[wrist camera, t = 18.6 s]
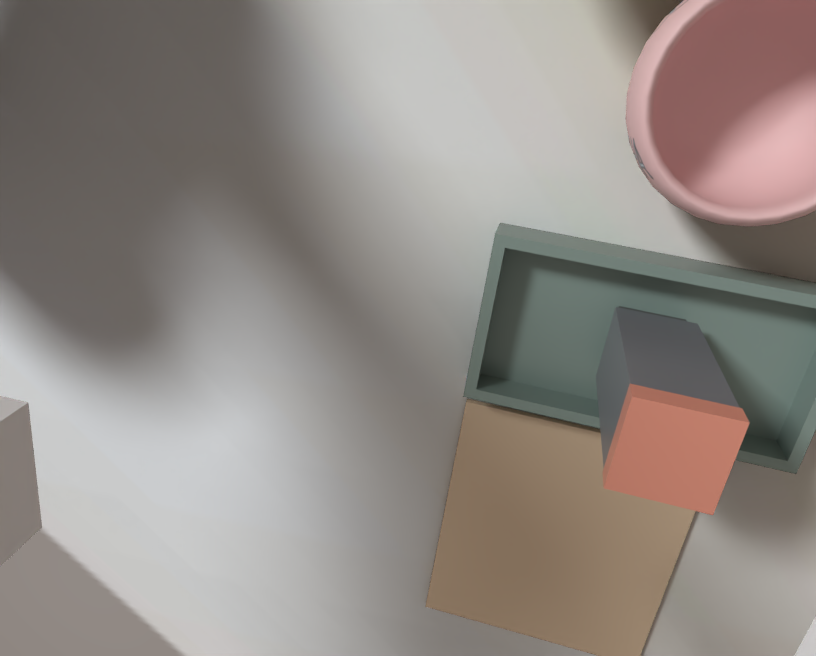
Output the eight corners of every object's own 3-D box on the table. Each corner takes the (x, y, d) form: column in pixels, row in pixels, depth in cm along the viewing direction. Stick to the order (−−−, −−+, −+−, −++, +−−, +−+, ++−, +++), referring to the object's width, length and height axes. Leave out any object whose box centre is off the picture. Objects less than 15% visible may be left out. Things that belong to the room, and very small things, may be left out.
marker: (594, 368, 36) (603, 488, 26) (613, 298, 34) (632, 396, 24) (671, 385, 35) (712, 515, 25) (694, 314, 34) (749, 422, 24)
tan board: (426, 602, 45) (425, 606, 45) (467, 398, 39) (466, 401, 39) (635, 661, 43) (636, 666, 43) (713, 455, 37) (715, 459, 36)
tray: (469, 377, 38) (463, 396, 36) (500, 222, 35) (495, 233, 33) (781, 448, 36) (796, 474, 34) (849, 289, 32) (870, 306, 30)
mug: (678, 242, 33) (698, 275, 28) (581, 64, 31) (584, 63, 26) (945, 105, 29) (1031, 114, 23) (852, -112, 27) (922, -157, 21)
